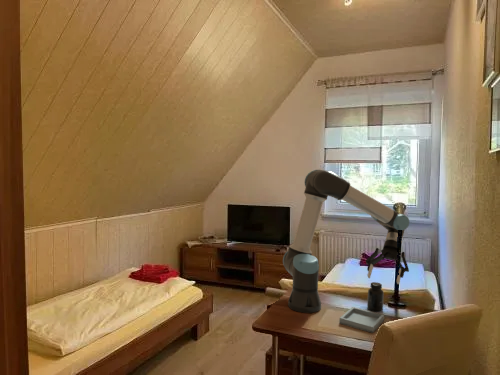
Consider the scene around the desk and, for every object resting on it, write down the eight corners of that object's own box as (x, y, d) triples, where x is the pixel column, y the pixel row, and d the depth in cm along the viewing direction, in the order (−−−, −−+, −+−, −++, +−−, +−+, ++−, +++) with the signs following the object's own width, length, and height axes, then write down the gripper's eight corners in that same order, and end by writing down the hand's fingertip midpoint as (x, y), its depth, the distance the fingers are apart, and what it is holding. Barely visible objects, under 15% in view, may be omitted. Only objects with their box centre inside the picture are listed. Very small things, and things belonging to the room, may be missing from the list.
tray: (339, 323, 154) (339, 317, 154) (352, 312, 166) (352, 306, 166) (372, 333, 146) (373, 327, 146) (384, 320, 158) (384, 314, 158)
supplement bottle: (383, 312, 166) (385, 286, 165) (368, 311, 168) (369, 285, 167) (381, 307, 173) (382, 282, 172) (366, 305, 174) (367, 280, 173)
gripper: (420, 251, 182) (411, 289, 171) (369, 243, 196) (358, 278, 185) (418, 242, 177) (409, 281, 166) (366, 235, 192) (355, 270, 180)
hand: (382, 279), depth 175 cm, fingers open, 13 cm apart
